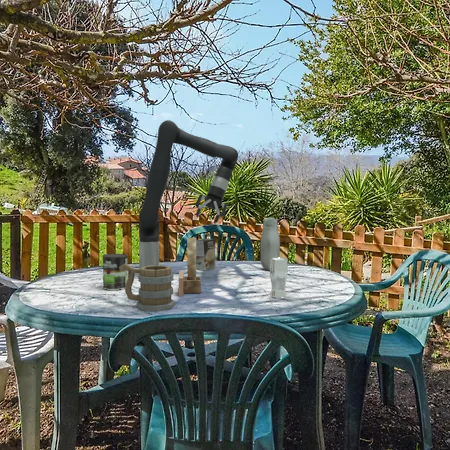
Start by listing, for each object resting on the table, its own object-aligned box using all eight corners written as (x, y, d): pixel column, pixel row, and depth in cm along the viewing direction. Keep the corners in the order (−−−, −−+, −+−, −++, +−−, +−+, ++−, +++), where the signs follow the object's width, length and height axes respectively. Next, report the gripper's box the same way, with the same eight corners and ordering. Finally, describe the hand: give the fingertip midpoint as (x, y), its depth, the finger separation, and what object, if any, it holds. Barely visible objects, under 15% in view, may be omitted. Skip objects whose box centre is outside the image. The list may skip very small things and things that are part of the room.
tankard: (178, 303, 155) (178, 262, 154) (166, 312, 143) (166, 268, 141) (128, 299, 159) (128, 260, 158) (112, 308, 147) (111, 266, 146)
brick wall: (178, 295, 166) (178, 278, 165) (179, 287, 182) (179, 271, 181) (183, 295, 166) (183, 278, 165) (183, 287, 182) (183, 270, 181)
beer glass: (275, 299, 160) (276, 260, 159) (265, 295, 167) (266, 258, 165) (290, 297, 164) (291, 259, 163) (280, 293, 170) (281, 257, 169)
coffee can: (118, 291, 173) (118, 257, 172) (97, 289, 176) (97, 256, 175) (132, 286, 182) (132, 254, 181) (112, 284, 186) (112, 253, 185)
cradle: (183, 293, 169) (183, 280, 169) (183, 288, 178) (183, 276, 178) (200, 292, 170) (200, 280, 170) (200, 288, 179) (200, 276, 179)
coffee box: (205, 270, 221) (205, 240, 220) (195, 269, 225) (195, 239, 224) (215, 268, 228) (215, 239, 227) (206, 267, 232) (206, 238, 231)
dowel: (187, 292, 172) (187, 238, 171) (187, 290, 176) (187, 237, 174) (196, 291, 173) (196, 238, 171) (196, 290, 176) (196, 237, 175)
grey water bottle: (259, 268, 229) (260, 216, 227) (278, 268, 229) (279, 217, 227) (260, 271, 220) (261, 217, 218) (280, 271, 219) (281, 218, 217)
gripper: (203, 180, 194) (190, 213, 191) (232, 190, 192) (219, 223, 190) (205, 185, 202) (192, 216, 199) (232, 195, 200) (220, 226, 197)
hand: (205, 220), depth 194 cm, fingers open, 8 cm apart
